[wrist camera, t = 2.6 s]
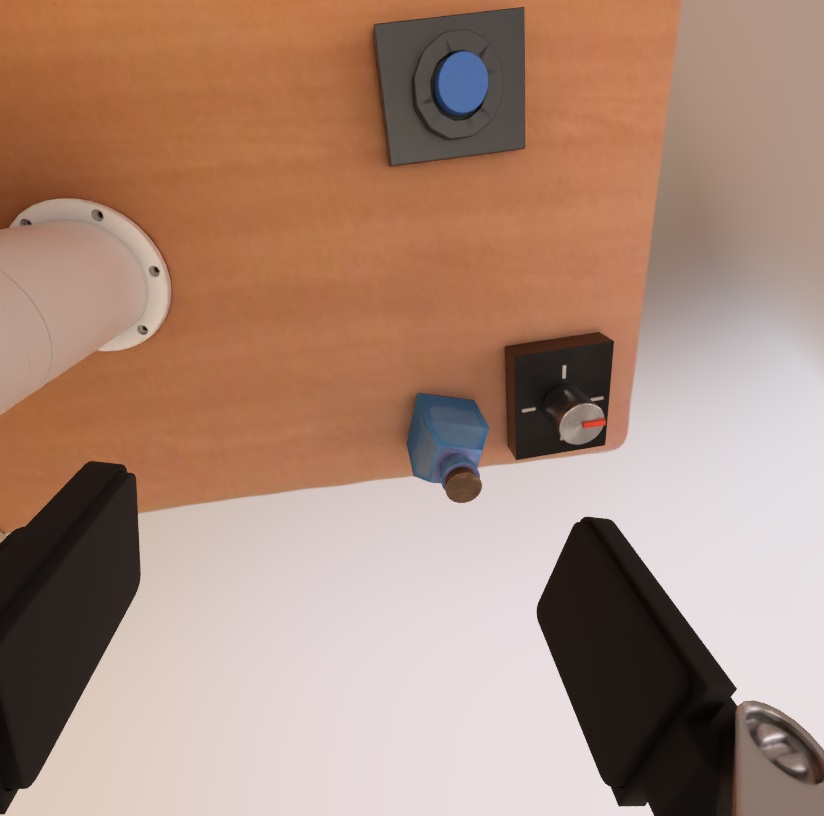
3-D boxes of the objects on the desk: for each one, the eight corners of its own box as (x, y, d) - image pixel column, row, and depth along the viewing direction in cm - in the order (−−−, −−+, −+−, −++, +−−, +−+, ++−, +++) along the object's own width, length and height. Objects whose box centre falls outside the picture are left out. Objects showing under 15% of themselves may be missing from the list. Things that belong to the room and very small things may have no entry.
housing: (389, 166, 39) (392, 165, 35) (372, 32, 35) (374, 16, 31) (516, 150, 39) (533, 147, 36) (515, 16, 35) (533, -3, 32)
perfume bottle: (473, 400, 50) (507, 461, 39) (460, 449, 52) (488, 519, 42) (417, 392, 48) (436, 453, 38) (406, 443, 51) (421, 513, 40)
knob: (541, 425, 48) (560, 449, 44) (542, 387, 46) (561, 409, 42) (582, 419, 49) (604, 442, 44) (584, 381, 47) (608, 401, 42)
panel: (507, 446, 53) (516, 461, 50) (505, 346, 47) (514, 357, 45) (592, 432, 53) (606, 446, 50) (599, 332, 48) (615, 341, 45)
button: (436, 118, 35) (440, 115, 33) (431, 59, 33) (435, 53, 31) (483, 112, 35) (489, 109, 33) (481, 53, 33) (487, 47, 32)
